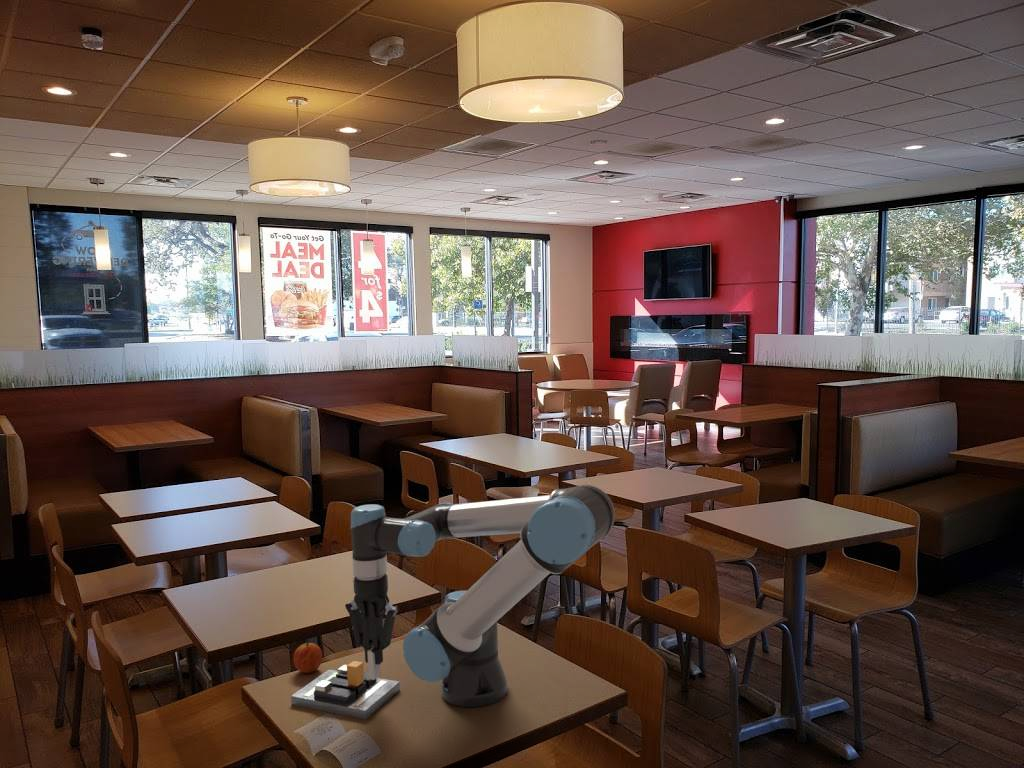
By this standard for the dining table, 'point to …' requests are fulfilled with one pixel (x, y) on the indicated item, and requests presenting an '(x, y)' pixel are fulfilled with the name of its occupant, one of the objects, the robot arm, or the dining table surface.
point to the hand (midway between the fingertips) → (374, 676)
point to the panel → (346, 707)
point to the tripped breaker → (355, 673)
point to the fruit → (307, 657)
